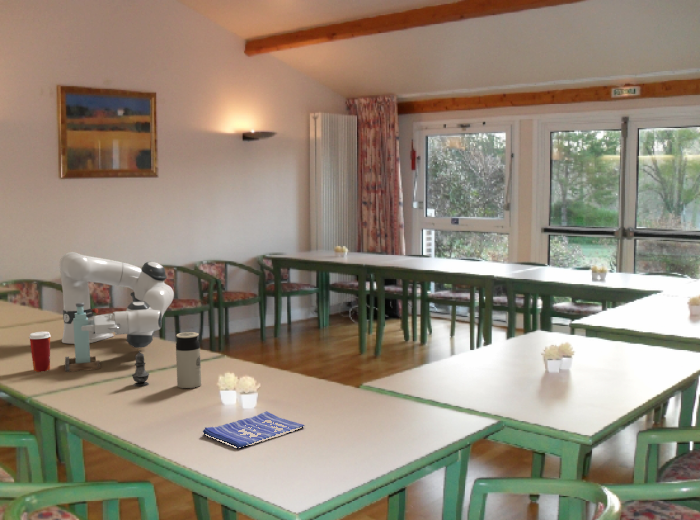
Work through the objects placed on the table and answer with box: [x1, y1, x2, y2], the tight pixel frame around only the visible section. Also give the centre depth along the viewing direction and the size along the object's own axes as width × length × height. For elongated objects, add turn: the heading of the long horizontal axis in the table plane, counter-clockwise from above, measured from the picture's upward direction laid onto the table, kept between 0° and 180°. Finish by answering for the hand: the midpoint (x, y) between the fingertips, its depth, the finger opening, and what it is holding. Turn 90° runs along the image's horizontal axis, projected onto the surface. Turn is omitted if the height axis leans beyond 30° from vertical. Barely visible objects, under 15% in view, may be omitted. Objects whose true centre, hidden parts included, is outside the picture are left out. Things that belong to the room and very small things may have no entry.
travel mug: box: [175, 331, 202, 389], centre depth 256 cm, size 8×8×18 cm
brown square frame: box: [64, 355, 101, 373], centre depth 285 cm, size 12×12×3 cm
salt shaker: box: [131, 350, 150, 388], centre depth 259 cm, size 6×6×12 cm
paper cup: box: [28, 331, 52, 373], centre depth 280 cm, size 8×8×14 cm
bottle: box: [73, 303, 91, 364], centre depth 284 cm, size 5×5×24 cm
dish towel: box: [202, 410, 306, 448], centre depth 209 cm, size 17×24×3 cm
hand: (81, 326), depth 284 cm, fingers open, 8 cm apart
